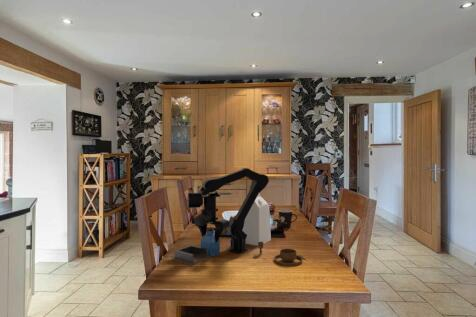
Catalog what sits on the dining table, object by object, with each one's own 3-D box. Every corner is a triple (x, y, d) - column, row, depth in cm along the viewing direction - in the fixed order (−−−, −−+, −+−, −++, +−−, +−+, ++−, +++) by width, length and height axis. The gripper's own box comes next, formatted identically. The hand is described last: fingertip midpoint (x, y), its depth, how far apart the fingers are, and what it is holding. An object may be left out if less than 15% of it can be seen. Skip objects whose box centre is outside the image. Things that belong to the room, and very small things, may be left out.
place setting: (275, 270, 122) (275, 255, 122) (255, 254, 141) (255, 242, 141) (313, 264, 128) (313, 250, 128) (289, 250, 147) (289, 238, 147)
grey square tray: (211, 257, 136) (211, 248, 136) (191, 265, 126) (191, 256, 126) (191, 252, 143) (191, 244, 143) (171, 260, 133) (171, 250, 133)
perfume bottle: (210, 257, 137) (210, 230, 137) (200, 254, 141) (200, 228, 141) (219, 253, 142) (219, 227, 142) (209, 250, 146) (209, 225, 146)
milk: (252, 237, 170) (252, 190, 169) (270, 240, 163) (270, 191, 163) (240, 242, 160) (239, 192, 159) (259, 245, 153) (259, 193, 153)
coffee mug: (275, 226, 195) (275, 210, 195) (287, 224, 199) (287, 209, 199) (286, 230, 185) (286, 213, 184) (298, 228, 188) (298, 212, 188)
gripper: (182, 207, 140) (183, 241, 141) (213, 211, 129) (214, 248, 129) (199, 204, 149) (199, 236, 149) (230, 207, 138) (230, 242, 138)
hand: (210, 240), depth 141 cm, fingers open, 7 cm apart
